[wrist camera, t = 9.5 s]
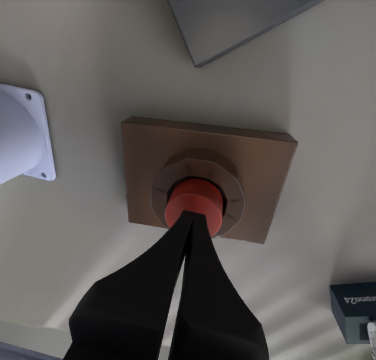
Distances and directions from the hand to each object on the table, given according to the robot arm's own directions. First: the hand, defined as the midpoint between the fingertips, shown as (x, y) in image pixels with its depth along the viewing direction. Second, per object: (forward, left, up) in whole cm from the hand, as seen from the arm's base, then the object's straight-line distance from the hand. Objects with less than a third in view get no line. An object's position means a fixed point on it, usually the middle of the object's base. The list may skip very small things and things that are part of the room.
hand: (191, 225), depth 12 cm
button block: (0, 0, -6) cm, 6 cm away
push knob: (0, 0, -3) cm, 3 cm away
